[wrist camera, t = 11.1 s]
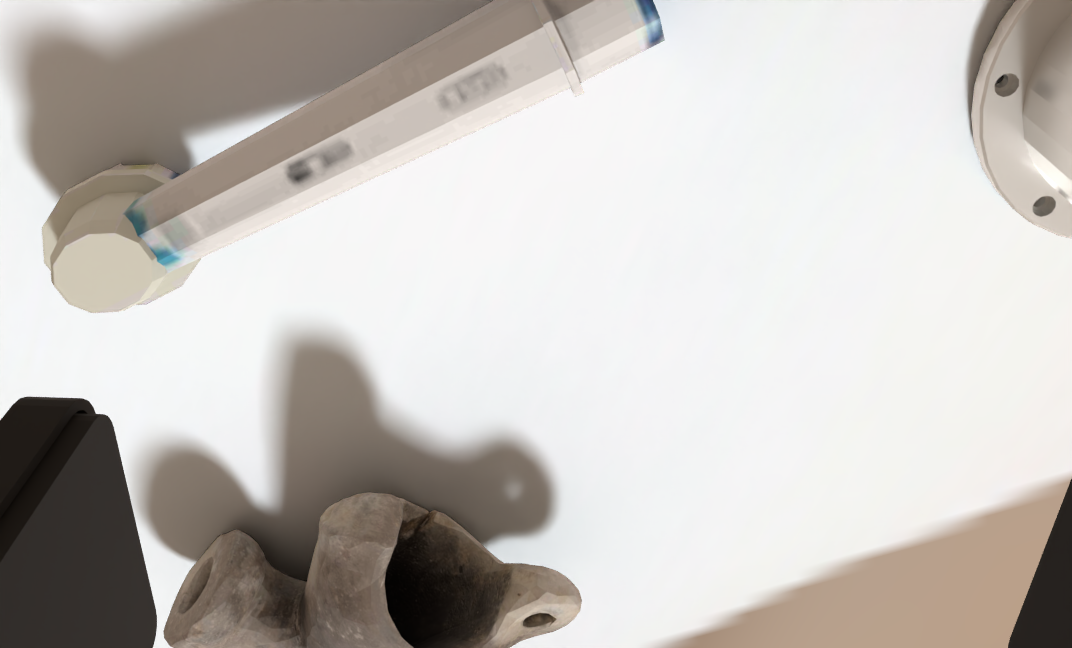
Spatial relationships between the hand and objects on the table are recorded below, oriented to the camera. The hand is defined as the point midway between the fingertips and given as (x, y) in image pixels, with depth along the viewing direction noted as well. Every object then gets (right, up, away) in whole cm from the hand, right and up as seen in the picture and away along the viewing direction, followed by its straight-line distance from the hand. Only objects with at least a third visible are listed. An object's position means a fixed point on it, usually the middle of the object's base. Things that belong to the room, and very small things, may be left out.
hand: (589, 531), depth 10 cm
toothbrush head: (-8, +10, +30) cm, 33 cm away
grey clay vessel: (-9, -9, +41) cm, 43 cm away
